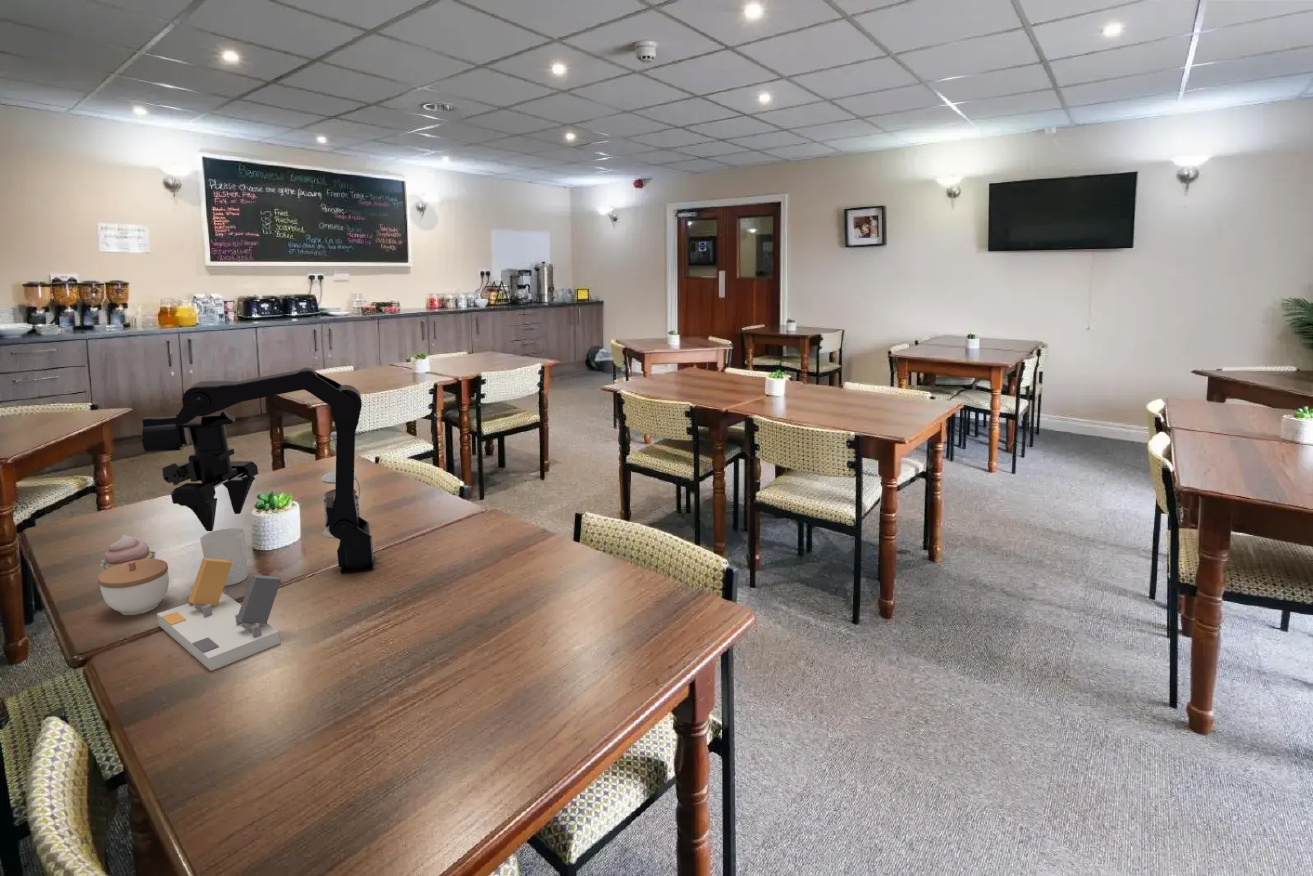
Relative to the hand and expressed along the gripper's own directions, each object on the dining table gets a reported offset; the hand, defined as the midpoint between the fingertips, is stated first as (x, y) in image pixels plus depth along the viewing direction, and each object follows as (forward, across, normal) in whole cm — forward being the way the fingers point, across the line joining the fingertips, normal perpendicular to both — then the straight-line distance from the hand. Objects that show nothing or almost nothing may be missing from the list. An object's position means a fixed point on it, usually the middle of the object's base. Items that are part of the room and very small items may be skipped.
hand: (224, 522), depth 142 cm
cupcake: (+14, -1, -22) cm, 26 cm away
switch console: (+14, +20, +9) cm, 25 cm away
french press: (+14, -31, +9) cm, 35 cm away
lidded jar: (+14, +10, -12) cm, 21 cm away
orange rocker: (+11, +15, +3) cm, 19 cm away
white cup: (+14, -2, -2) cm, 14 cm away
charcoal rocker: (+11, +22, +16) cm, 29 cm away
